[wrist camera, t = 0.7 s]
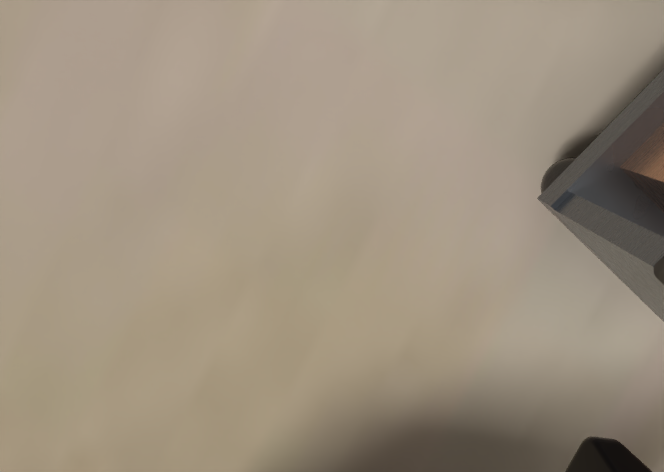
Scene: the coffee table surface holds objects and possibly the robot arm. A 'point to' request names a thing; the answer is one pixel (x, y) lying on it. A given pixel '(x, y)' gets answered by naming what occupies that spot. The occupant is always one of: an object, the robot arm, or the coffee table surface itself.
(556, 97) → the coffee table surface
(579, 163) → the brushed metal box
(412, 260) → the coffee table surface
